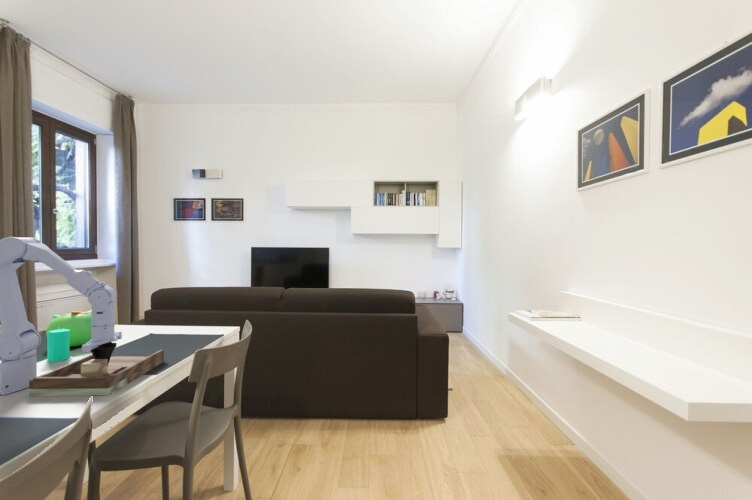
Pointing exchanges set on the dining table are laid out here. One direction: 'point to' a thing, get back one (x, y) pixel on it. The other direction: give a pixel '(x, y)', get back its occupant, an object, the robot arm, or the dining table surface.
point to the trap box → (73, 384)
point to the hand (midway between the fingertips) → (103, 367)
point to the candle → (58, 345)
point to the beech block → (94, 368)
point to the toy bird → (74, 326)
